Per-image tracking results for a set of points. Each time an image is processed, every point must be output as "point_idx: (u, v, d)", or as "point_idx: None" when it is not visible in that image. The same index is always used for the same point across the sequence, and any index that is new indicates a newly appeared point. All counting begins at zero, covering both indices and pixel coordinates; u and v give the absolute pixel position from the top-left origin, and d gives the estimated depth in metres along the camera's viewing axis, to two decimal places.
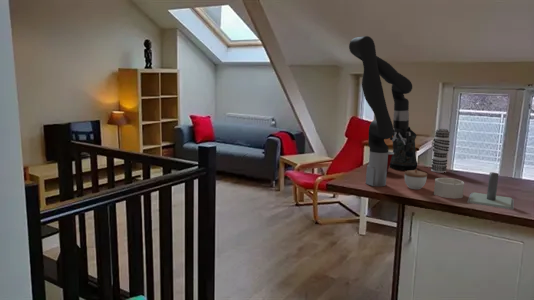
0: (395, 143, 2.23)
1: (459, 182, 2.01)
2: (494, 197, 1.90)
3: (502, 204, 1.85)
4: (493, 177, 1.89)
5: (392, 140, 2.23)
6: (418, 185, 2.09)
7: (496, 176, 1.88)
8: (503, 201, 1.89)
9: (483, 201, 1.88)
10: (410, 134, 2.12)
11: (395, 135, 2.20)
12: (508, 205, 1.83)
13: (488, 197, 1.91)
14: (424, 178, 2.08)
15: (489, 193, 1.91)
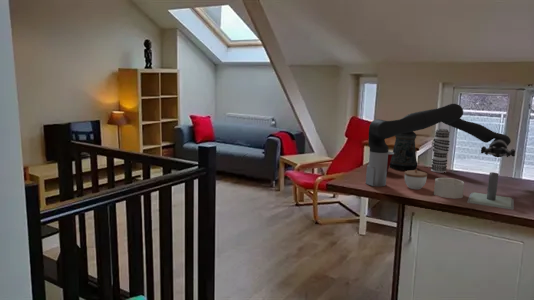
0: None
1: (459, 182, 2.01)
2: (494, 197, 1.90)
3: (502, 204, 1.85)
4: (493, 177, 1.89)
5: (486, 148, 2.04)
6: (418, 185, 2.09)
7: (496, 176, 1.88)
8: (503, 201, 1.89)
9: (483, 201, 1.88)
10: None
11: (493, 147, 2.05)
12: (508, 205, 1.83)
13: (488, 197, 1.91)
14: (424, 178, 2.08)
15: (489, 193, 1.91)
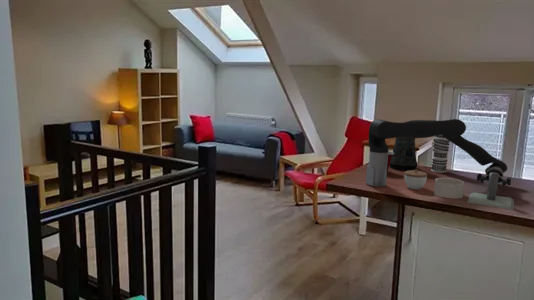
0: None
1: (459, 182, 2.01)
2: (494, 197, 1.90)
3: (502, 204, 1.85)
4: (493, 177, 1.89)
5: (482, 176, 2.02)
6: (418, 185, 2.09)
7: (496, 176, 1.88)
8: (503, 201, 1.89)
9: (483, 201, 1.88)
10: None
11: None
12: (508, 205, 1.83)
13: (488, 197, 1.91)
14: (424, 178, 2.08)
15: (489, 193, 1.91)
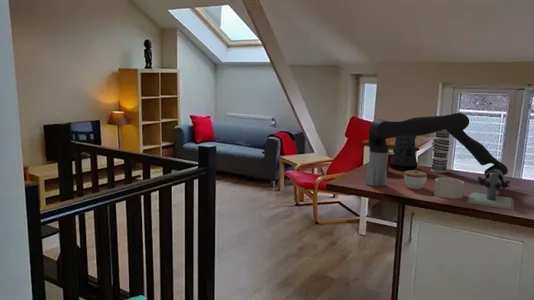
0: None
1: (459, 182, 2.01)
2: (494, 197, 1.90)
3: (502, 204, 1.85)
4: (493, 177, 1.89)
5: (486, 180, 1.93)
6: (418, 185, 2.09)
7: (496, 176, 1.88)
8: (503, 201, 1.89)
9: (483, 201, 1.88)
10: (509, 185, 1.93)
11: None
12: (508, 205, 1.83)
13: (488, 197, 1.91)
14: (424, 178, 2.08)
15: (489, 193, 1.91)
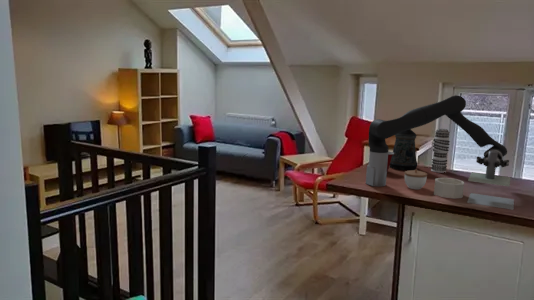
0: None
1: (459, 182, 2.01)
2: (493, 176, 1.89)
3: (501, 182, 1.83)
4: (492, 155, 1.87)
5: (485, 159, 1.92)
6: (418, 185, 2.09)
7: (495, 154, 1.87)
8: (502, 180, 1.88)
9: (482, 180, 1.87)
10: (508, 164, 1.92)
11: None
12: (507, 183, 1.82)
13: (487, 176, 1.90)
14: (424, 178, 2.08)
15: (488, 172, 1.90)
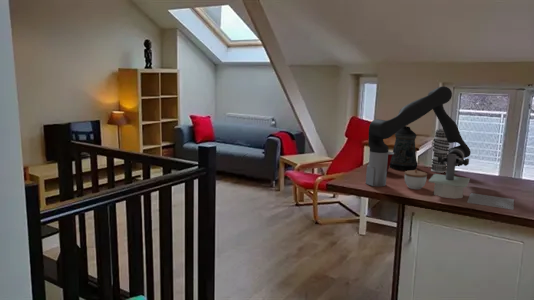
0: (444, 161, 2.00)
1: None
2: (452, 177, 1.98)
3: (458, 183, 1.92)
4: (451, 158, 1.97)
5: (443, 157, 2.02)
6: (418, 185, 2.09)
7: (453, 156, 1.96)
8: (460, 181, 1.97)
9: (441, 181, 1.96)
10: (468, 162, 2.01)
11: None
12: (464, 184, 1.91)
13: (446, 177, 1.99)
14: (424, 178, 2.08)
15: (447, 173, 1.99)
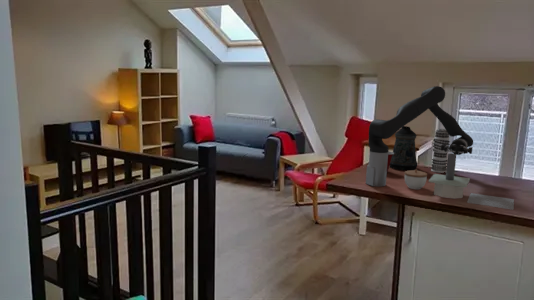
0: (447, 149, 2.11)
1: None
2: (452, 177, 1.98)
3: (458, 183, 1.92)
4: (451, 158, 1.97)
5: None
6: (418, 185, 2.09)
7: (453, 156, 1.96)
8: (460, 181, 1.97)
9: (441, 181, 1.96)
10: None
11: (453, 145, 2.14)
12: (464, 184, 1.91)
13: (446, 177, 1.99)
14: (424, 178, 2.08)
15: (447, 173, 1.99)
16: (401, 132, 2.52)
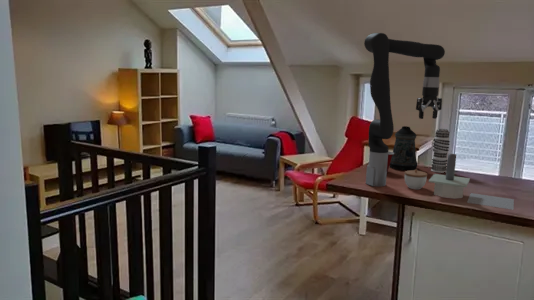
0: None
1: None
2: (452, 177, 1.98)
3: (458, 183, 1.92)
4: (451, 158, 1.97)
5: (423, 110, 2.12)
6: (418, 185, 2.09)
7: (453, 156, 1.96)
8: (460, 181, 1.97)
9: (441, 181, 1.96)
10: None
11: (428, 103, 2.12)
12: (464, 184, 1.91)
13: (446, 177, 1.99)
14: (424, 178, 2.08)
15: (447, 173, 1.99)
16: (401, 132, 2.52)
